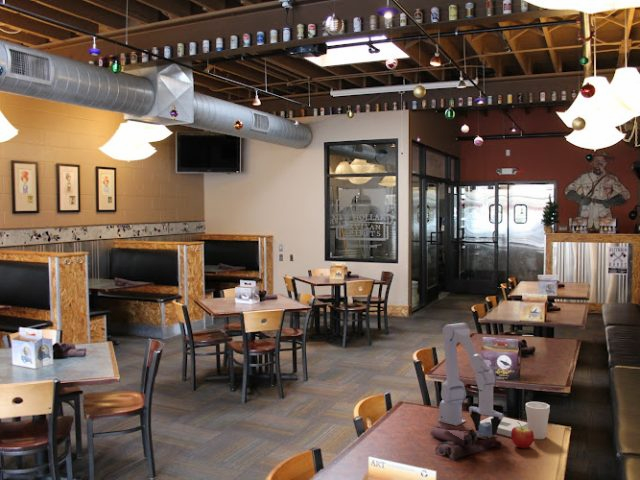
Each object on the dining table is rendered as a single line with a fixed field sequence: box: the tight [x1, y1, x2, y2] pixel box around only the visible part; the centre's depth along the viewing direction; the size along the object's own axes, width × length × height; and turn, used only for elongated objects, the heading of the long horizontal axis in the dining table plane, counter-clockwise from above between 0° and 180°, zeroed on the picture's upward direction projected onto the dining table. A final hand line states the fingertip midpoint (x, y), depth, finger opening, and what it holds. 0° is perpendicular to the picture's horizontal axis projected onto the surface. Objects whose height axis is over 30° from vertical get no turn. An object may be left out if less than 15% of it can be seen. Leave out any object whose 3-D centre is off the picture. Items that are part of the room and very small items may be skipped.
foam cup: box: [525, 401, 551, 440], centre depth 260 cm, size 10×9×13 cm
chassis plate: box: [480, 416, 528, 438], centre depth 270 cm, size 16×14×2 cm
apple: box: [510, 422, 535, 449], centre depth 248 cm, size 8×8×10 cm
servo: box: [475, 421, 494, 439], centre depth 260 cm, size 12×3×6 cm, turn 135°
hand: (485, 432), depth 260 cm, fingers open, 7 cm apart
